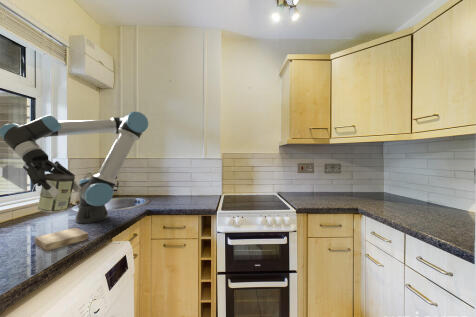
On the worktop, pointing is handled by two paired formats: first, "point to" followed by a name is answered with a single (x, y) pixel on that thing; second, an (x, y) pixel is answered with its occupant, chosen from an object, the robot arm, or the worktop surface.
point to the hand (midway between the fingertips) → (68, 192)
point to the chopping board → (60, 238)
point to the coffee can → (62, 198)
